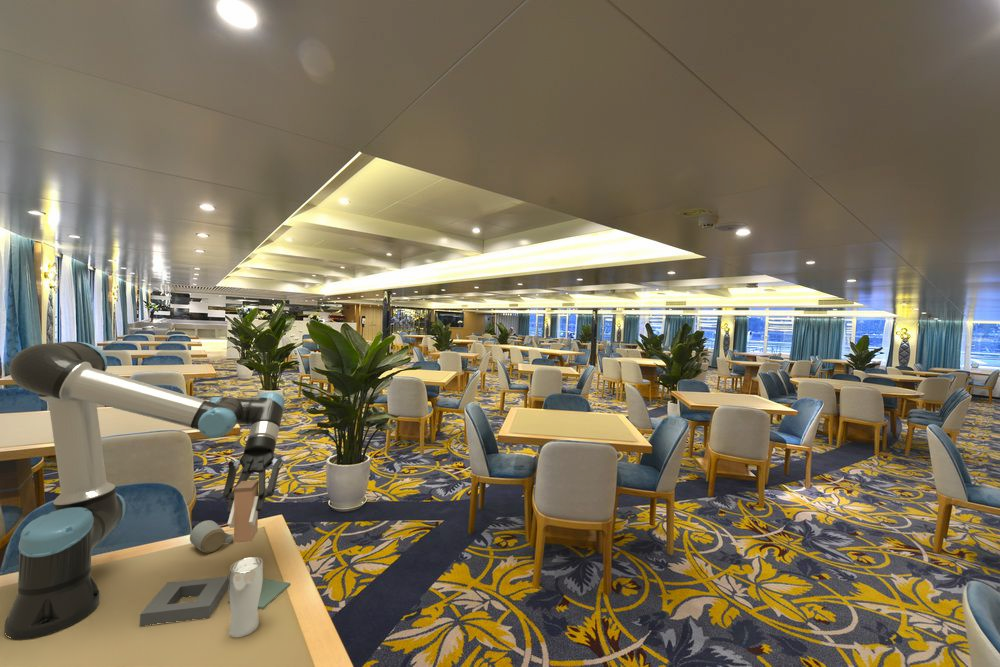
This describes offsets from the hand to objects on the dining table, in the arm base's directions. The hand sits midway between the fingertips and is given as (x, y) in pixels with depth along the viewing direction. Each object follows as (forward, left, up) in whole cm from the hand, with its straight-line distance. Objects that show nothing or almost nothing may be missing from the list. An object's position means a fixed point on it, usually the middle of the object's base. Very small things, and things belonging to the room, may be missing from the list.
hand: (241, 524), depth 102 cm
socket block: (-12, -3, -21) cm, 24 cm away
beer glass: (+7, -6, -21) cm, 23 cm away
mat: (+2, +5, -21) cm, 21 cm away
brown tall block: (-2, +4, -5) cm, 7 cm away
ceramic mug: (-29, +22, -21) cm, 42 cm away
